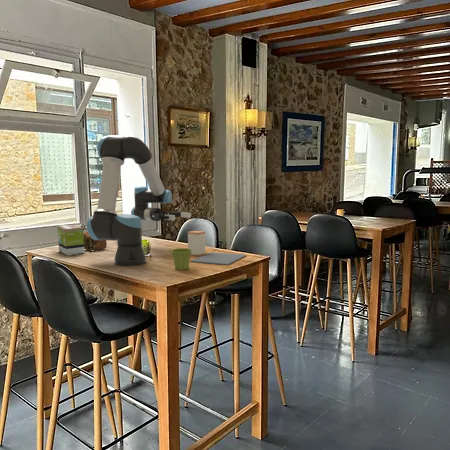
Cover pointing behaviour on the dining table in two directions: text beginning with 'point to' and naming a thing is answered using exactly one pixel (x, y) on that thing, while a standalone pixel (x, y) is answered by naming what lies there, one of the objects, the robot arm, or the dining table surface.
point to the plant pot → (181, 258)
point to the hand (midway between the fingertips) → (182, 216)
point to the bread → (93, 243)
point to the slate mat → (218, 258)
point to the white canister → (196, 242)
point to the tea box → (70, 239)
